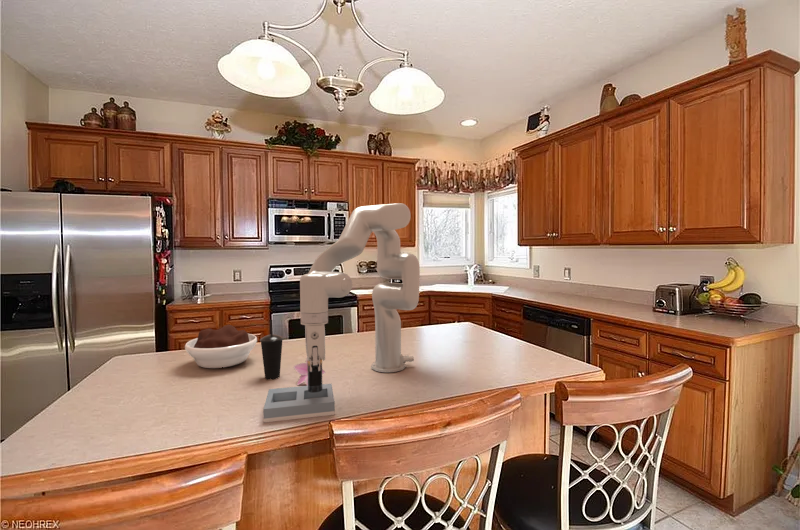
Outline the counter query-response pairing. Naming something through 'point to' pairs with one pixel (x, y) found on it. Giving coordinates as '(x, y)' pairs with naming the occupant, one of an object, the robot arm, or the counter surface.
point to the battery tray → (298, 403)
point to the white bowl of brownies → (221, 347)
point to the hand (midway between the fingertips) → (315, 381)
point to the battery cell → (310, 388)
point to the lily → (303, 372)
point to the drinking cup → (271, 354)
